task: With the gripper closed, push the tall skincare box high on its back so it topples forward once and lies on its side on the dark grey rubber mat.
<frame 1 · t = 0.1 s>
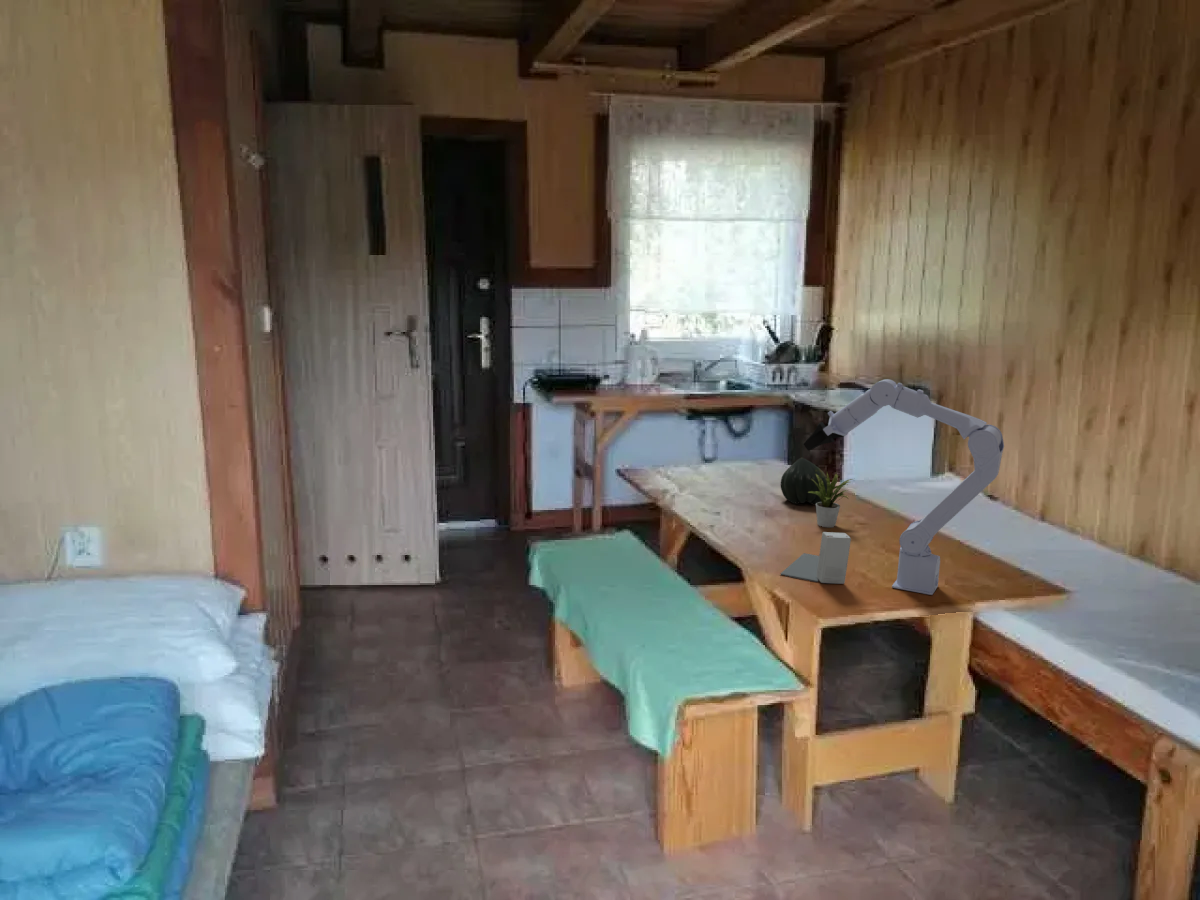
hand: (810, 444, 234), 32 cm above the table, tool tilted 50°, fingers open, 7 cm apart
squash: (802, 502, 304), on the table
house plant: (828, 526, 277), on the table
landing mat: (810, 567, 239), on the table
skincare box: (829, 581, 229), on the table, touching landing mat
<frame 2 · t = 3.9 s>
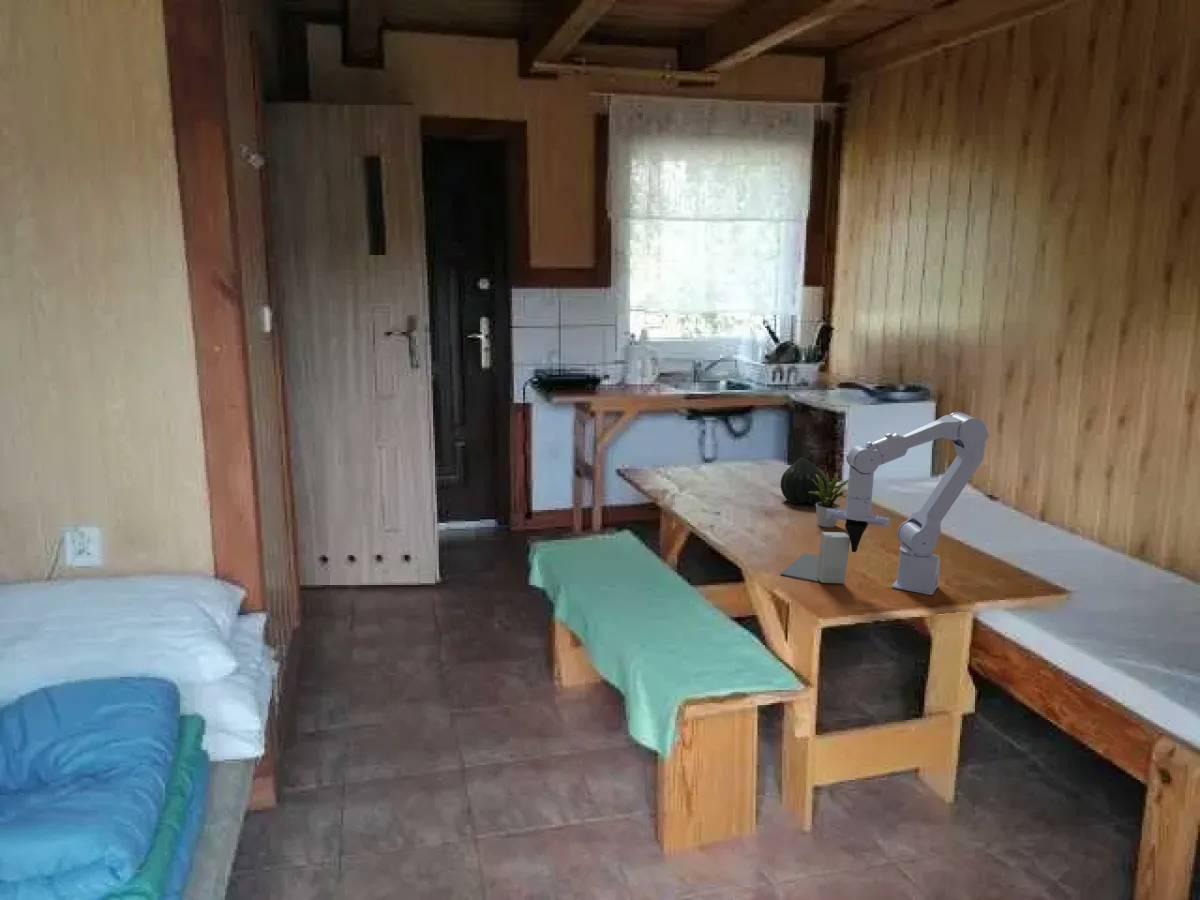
hand: (854, 550, 225), 9 cm above the table, tool pointing down, fingers closed
skincare box: (829, 581, 229), on the table, touching gripper, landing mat
everything else where it was.
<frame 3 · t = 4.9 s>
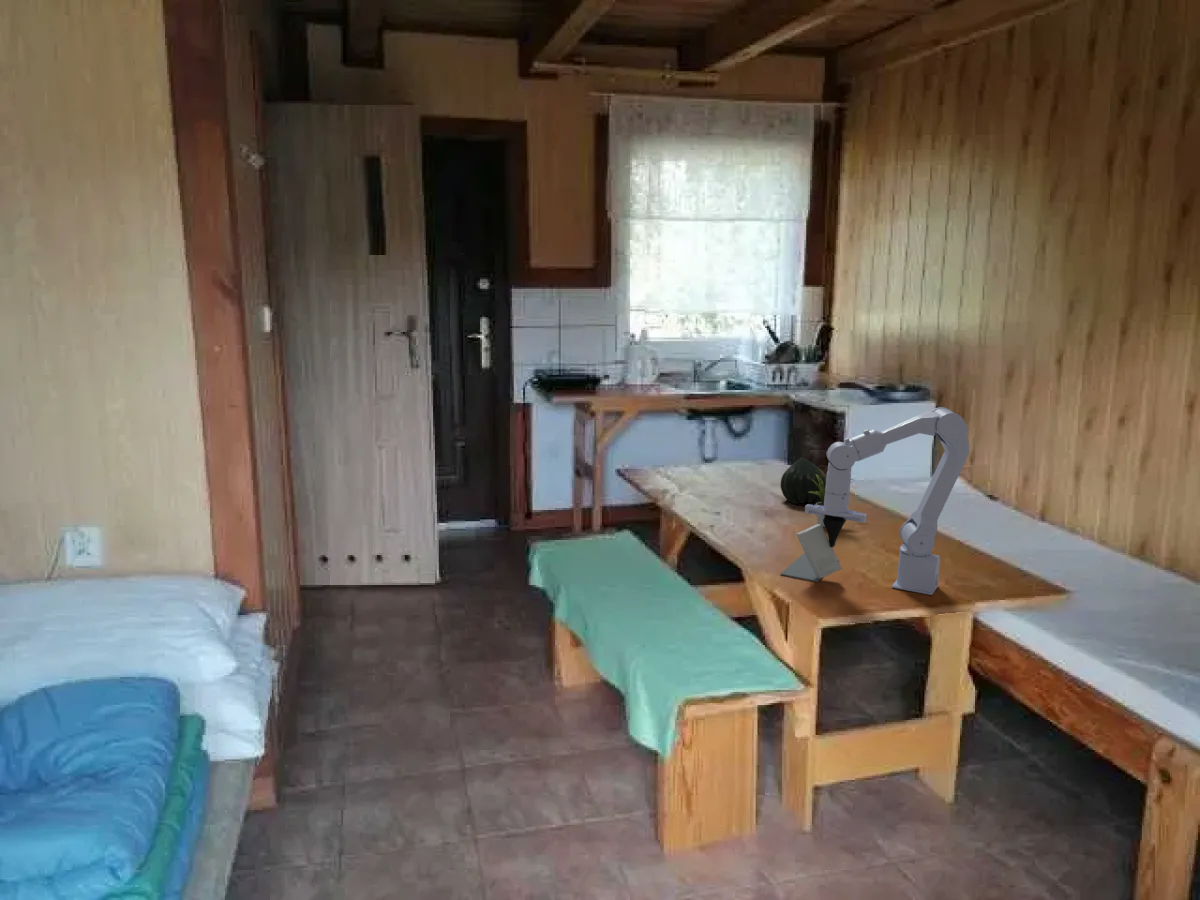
hand: (832, 546, 227), 9 cm above the table, tool pointing down, fingers closed, pressing on skincare box
skincare box: (829, 574, 229), point 2 cm above the table, touching gripper, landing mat
everything else where it was.
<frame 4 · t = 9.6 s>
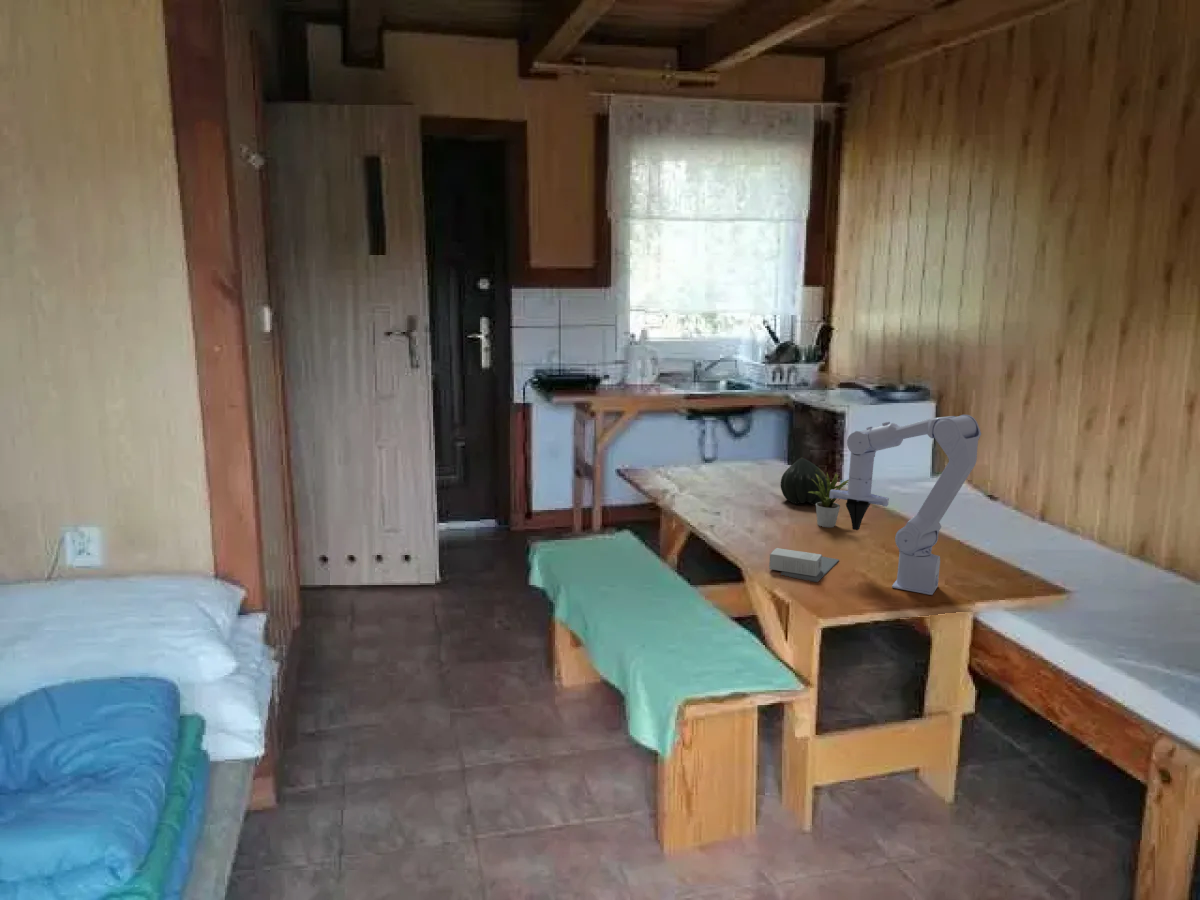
hand: (856, 529, 238), 10 cm above the table, tool pointing down, fingers closed
skincare box: (820, 565, 233), point 3 cm above the table, touching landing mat
everything else where it was.
at the end: skincare box tilted 92°; skincare box touching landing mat; skincare box inside the target area (3.2 cm from its centre), point 2.8 cm above the table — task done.
